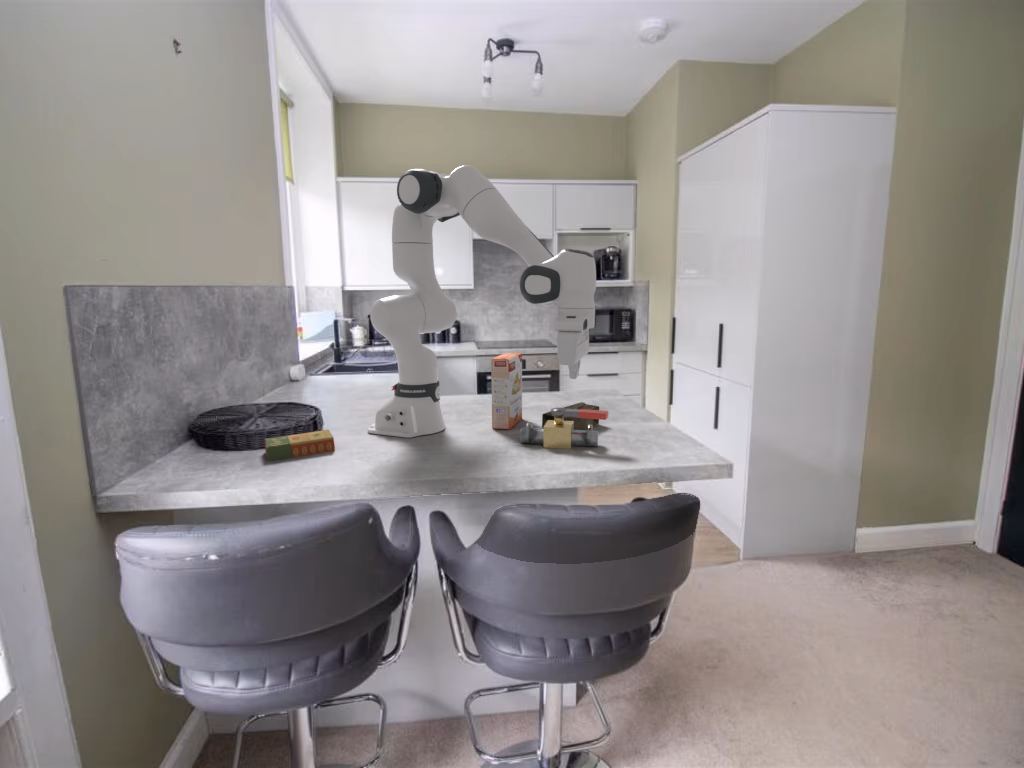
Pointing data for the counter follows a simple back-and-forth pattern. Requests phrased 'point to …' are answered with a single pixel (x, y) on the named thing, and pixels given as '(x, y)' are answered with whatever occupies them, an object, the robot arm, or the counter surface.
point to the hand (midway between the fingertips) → (574, 377)
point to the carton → (299, 445)
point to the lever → (580, 413)
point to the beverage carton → (578, 422)
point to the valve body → (559, 434)
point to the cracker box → (506, 390)
